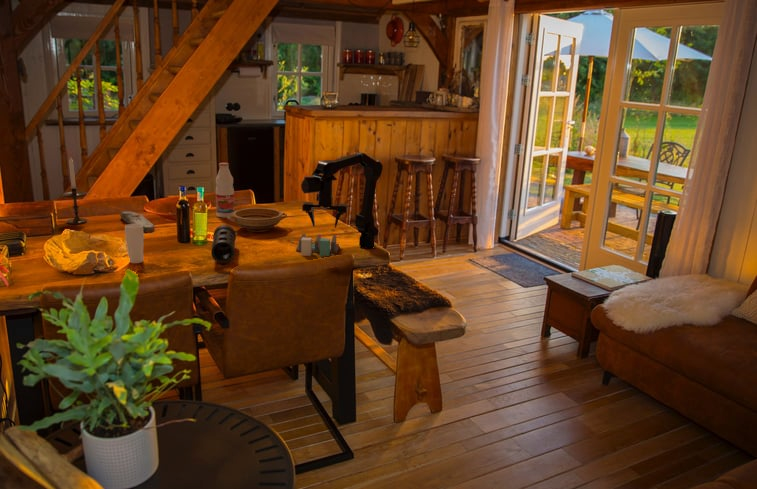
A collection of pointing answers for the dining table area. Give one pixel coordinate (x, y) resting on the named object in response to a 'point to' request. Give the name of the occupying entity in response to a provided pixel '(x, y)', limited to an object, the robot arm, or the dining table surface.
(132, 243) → the drinking glass
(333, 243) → the slot rack
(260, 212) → the ceramic bowl
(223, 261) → the muzzle brake
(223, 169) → the fruit juice
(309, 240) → the off-white plug
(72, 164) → the candlestick
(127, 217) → the long grey stone
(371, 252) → the dining table surface
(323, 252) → the teal plug
